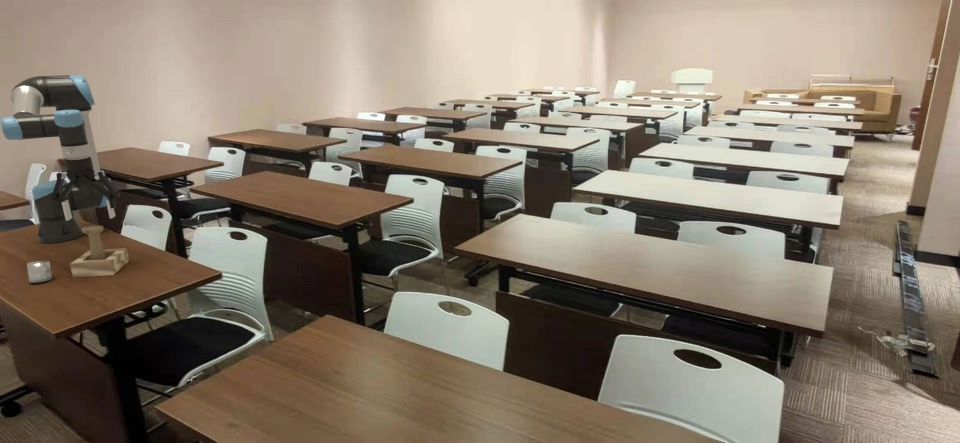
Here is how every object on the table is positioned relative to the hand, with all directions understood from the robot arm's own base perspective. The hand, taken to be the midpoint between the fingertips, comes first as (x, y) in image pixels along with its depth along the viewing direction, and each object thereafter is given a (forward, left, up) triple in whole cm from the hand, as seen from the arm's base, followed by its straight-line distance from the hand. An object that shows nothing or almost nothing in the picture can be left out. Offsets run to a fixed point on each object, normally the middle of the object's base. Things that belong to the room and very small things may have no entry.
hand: (90, 218), depth 195 cm
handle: (0, 0, -18) cm, 18 cm away
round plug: (+8, -15, -18) cm, 25 cm away
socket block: (0, 0, -19) cm, 19 cm away
